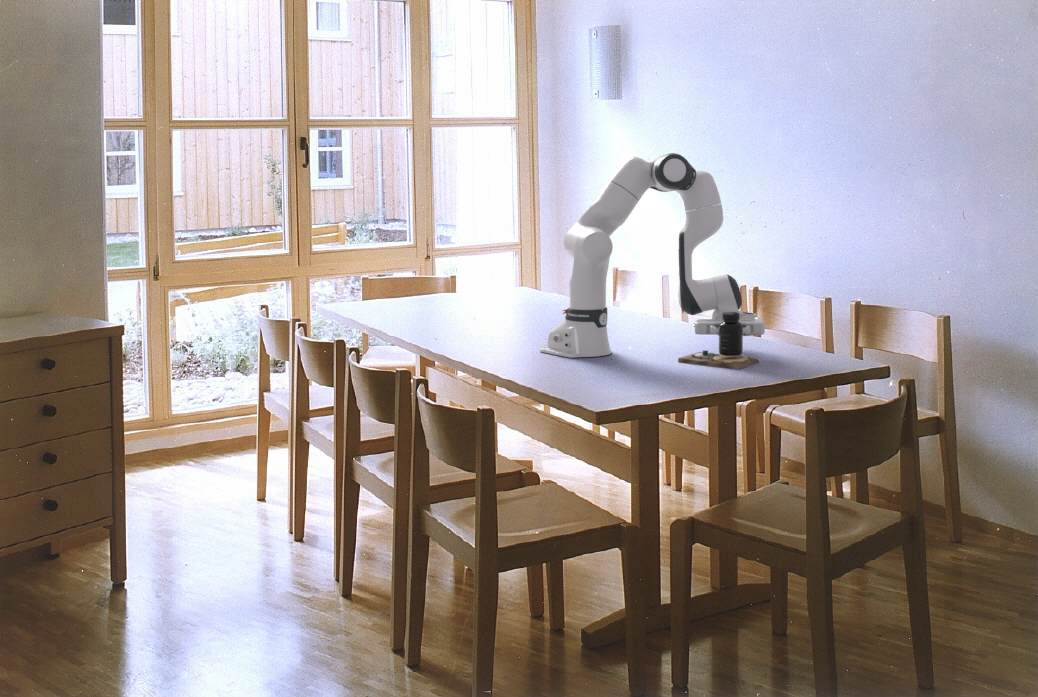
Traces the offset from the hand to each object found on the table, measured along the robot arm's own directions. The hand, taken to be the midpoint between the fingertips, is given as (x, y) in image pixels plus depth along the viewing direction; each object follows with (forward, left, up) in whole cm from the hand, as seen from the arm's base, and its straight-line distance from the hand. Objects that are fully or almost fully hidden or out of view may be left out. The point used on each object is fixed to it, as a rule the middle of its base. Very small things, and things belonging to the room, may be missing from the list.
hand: (731, 331), depth 349 cm
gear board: (-5, +1, -10) cm, 11 cm away
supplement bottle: (-1, +1, -7) cm, 7 cm away
